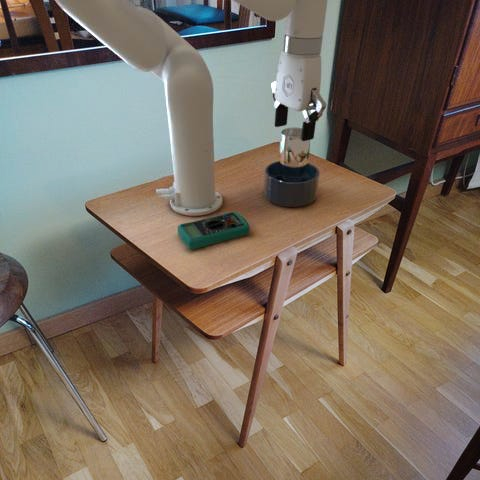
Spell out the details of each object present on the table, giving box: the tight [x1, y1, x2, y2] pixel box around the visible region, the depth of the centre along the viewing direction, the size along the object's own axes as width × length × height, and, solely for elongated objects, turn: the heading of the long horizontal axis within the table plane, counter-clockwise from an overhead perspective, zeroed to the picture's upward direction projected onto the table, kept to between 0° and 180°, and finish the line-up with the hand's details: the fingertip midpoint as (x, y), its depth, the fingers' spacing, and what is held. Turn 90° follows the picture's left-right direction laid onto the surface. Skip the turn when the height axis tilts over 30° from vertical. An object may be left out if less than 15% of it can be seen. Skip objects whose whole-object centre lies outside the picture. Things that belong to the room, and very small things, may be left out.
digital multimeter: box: [177, 211, 250, 251], centre depth 97 cm, size 7×15×3 cm, turn 117°
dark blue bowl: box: [263, 160, 320, 208], centre depth 110 cm, size 13×13×6 cm
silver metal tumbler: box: [278, 127, 311, 183], centre depth 106 cm, size 7×7×15 cm
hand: (293, 132), depth 101 cm, fingers open, 9 cm apart
